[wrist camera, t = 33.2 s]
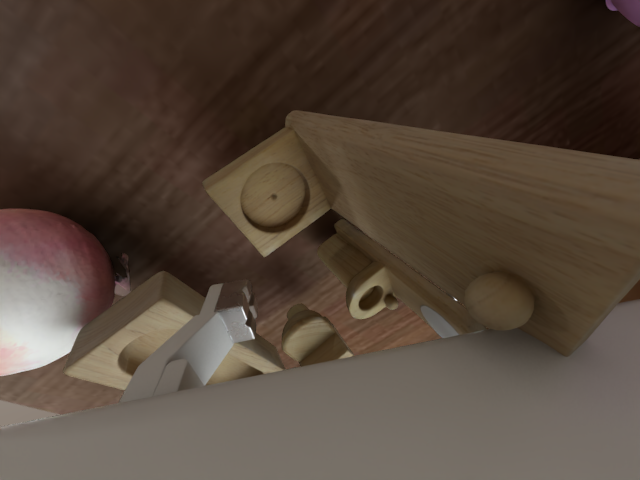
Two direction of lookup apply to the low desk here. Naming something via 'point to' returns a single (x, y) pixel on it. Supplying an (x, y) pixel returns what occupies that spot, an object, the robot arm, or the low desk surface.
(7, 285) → the pink white round vegetable
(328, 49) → the low desk surface
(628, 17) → the teapot
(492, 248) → the dollhouse furniture set
